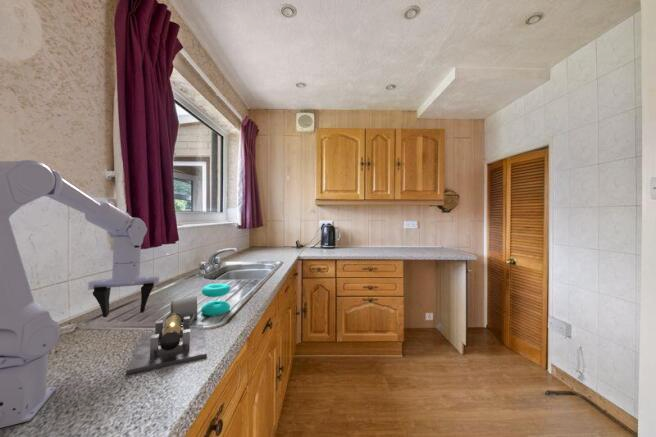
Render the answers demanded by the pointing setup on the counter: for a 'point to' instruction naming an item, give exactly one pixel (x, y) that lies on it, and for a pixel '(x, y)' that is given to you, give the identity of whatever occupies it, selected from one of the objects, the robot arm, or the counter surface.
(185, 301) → the ceramic mug
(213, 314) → the donuts
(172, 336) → the brass tube
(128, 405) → the counter surface
